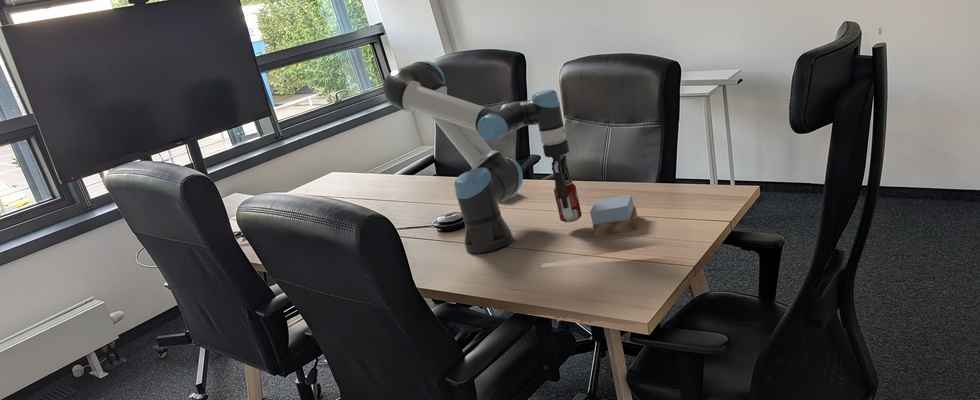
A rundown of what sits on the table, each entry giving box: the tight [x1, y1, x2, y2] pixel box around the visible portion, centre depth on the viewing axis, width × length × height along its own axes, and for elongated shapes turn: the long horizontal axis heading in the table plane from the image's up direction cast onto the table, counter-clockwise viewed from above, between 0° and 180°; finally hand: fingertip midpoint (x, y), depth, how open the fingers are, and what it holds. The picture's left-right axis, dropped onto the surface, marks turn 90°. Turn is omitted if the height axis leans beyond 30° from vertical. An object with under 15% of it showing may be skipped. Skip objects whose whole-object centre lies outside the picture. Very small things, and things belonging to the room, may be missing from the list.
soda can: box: [553, 179, 583, 224], centre depth 229 cm, size 7×7×12 cm
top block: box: [589, 194, 635, 226], centre depth 222 cm, size 11×11×4 cm
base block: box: [592, 205, 639, 238], centre depth 223 cm, size 12×12×4 cm
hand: (570, 213), depth 230 cm, fingers closed on soda can, 7 cm apart
